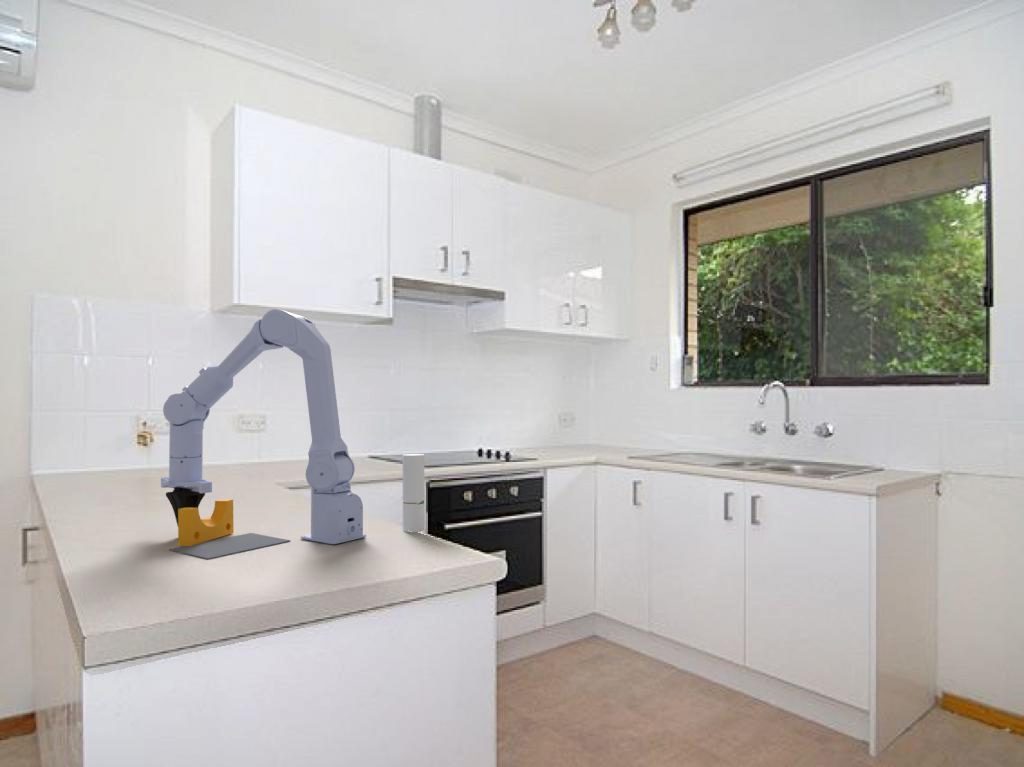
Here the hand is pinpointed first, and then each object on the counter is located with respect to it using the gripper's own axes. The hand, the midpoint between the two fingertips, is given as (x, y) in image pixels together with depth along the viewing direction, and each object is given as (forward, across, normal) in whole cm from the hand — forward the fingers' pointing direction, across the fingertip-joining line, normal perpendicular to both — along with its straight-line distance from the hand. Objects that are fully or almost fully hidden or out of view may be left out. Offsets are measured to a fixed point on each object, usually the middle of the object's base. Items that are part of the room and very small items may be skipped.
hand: (185, 527), depth 124 cm
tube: (+2, +33, +28) cm, 43 cm away
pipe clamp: (+2, +6, 0) cm, 6 cm away
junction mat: (+2, +15, 0) cm, 15 cm away
